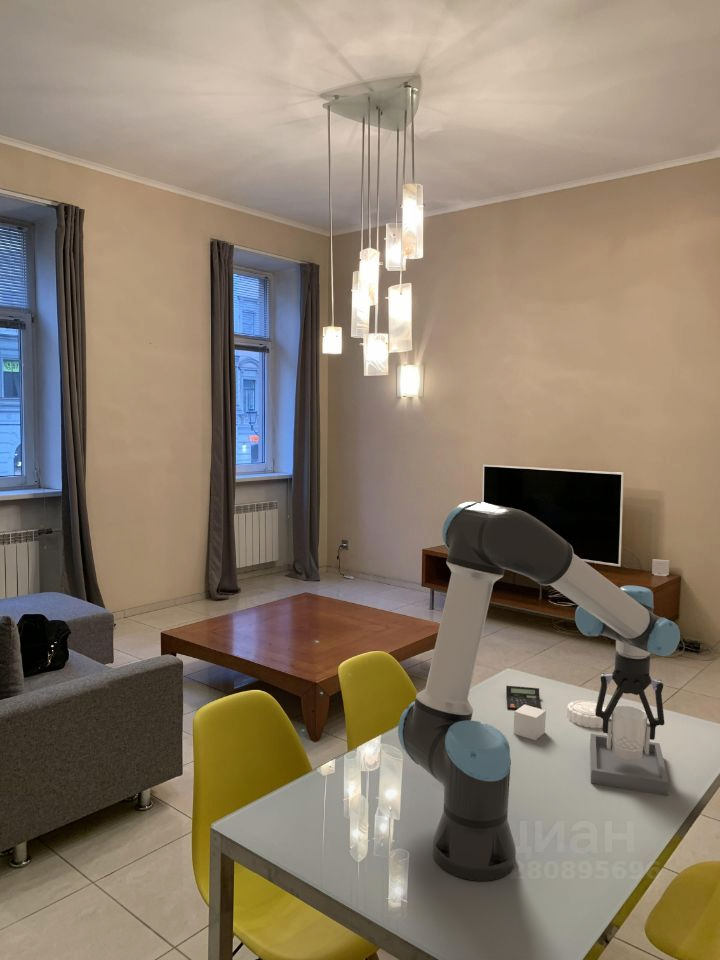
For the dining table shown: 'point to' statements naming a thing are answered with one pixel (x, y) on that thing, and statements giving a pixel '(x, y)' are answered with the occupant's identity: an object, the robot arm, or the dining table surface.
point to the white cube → (529, 722)
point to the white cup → (628, 732)
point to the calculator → (522, 697)
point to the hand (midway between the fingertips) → (627, 749)
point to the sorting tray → (628, 768)
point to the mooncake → (584, 713)
